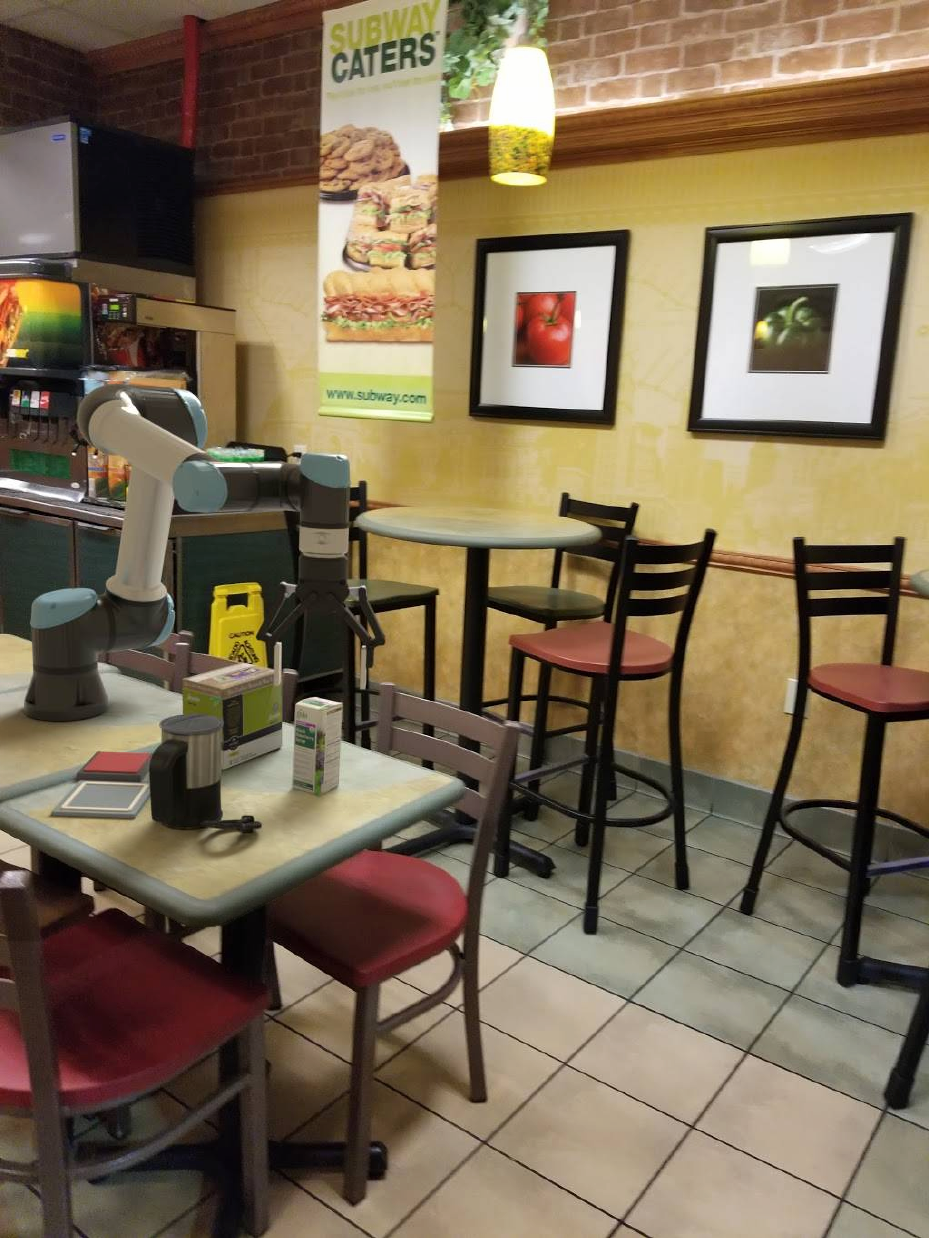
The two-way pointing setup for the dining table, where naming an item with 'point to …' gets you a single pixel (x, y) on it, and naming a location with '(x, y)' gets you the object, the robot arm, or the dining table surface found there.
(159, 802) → the milk frother
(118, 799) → the marked board
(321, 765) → the syrup box
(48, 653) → the robot arm
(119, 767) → the ink pad
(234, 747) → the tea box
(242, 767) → the dining table surface
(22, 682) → the dining table surface
